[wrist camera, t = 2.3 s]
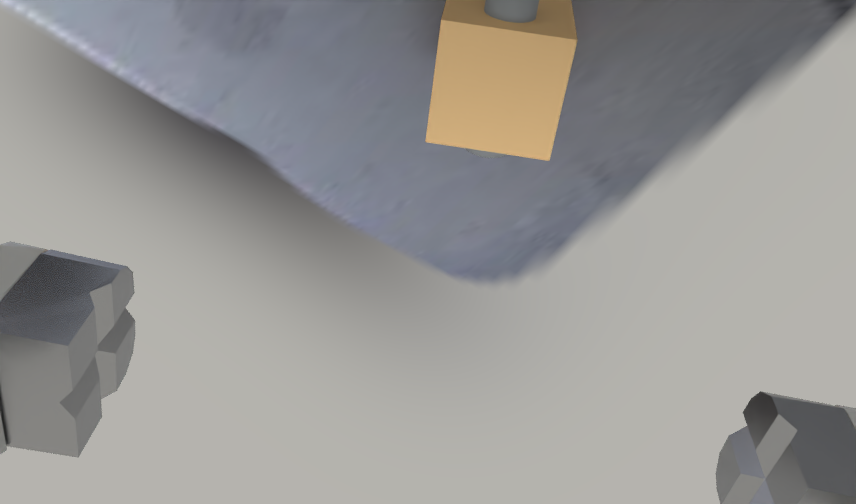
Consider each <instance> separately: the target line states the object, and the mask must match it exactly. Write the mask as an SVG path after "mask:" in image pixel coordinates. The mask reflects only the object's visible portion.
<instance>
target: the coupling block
mask: <svg viewBox="0 0 856 504" xmlns="http://www.w3.org/2000/svg"><path fill="white" fill-rule="evenodd" d="M576 44H577V34H576V28H575V21H574V15H573V8H572V2H571V0H446V3H445V7H444V11H443V15H442V18H441V25H440V33H439V40H438V48H437V56H436V64H435V71H434V79H433V87H432V95H431V103H430V110H429V118H428V126H427V134H426V142H428V143H435V144H442V145H448V146H455V147H461V148H465V149H466V150H467V151H468V152H470V153H472V154H474V155H477V156H480V157H485V158H500V157H503V156H505V155H507V154H508V155H514V156H521V157H527V158H534V159H541V160H547V161H549V160H550V156H551V151H552V147H553V143H554V139H555V134H556V130H557V126H558V121H559V117H560V113H561V109H562V104H563V100H564V96H565V91H566V87H567V83H568V79H569V74H570V70H571V66H572V61H573V57H574V53H575V49H576Z"/></svg>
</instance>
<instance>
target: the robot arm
mask: <svg viewBox="0 0 856 504" xmlns="http://www.w3.org/2000/svg"><path fill="white" fill-rule="evenodd" d="M133 294H134V282H133V272H132V271H131V270H130V269H129V268H128V267H127V266H123V265H118V264H114V263H109V262H105V261H100V260H95V259H91V258H86V257H82V256H77V255H73V254H68V253H63V252H59V251H55V250H46V249H43V248H38V247H33V246H29V245H24V244H20V243H15V242H7V243H4V244H1V245H0V454H1V453H3V452H5V451H6V449H7V447H6V446H10V447H16V448H22V449H28V450H35V451H41V452H47V453H53V454H60V455H66V456H72V457H79V456H80V454H81V452H82V450H83V449H84V447H85V445H86V443H87V442H88V440H89V438H90V437H91V435H92V433H93V431H94V430H95V428H96V426H97V424H98V423H99V421H100V419H101V418H102V411H101V410H102V409H101V399H102V398H104V397H106V396H108V395H110V394H112V393H113V392H115V391H117V389H118V387H119V386H120V384H121V382H122V380H123V378H124V376H125V375H126V372H127V369H128V366H129V363H130V360H131V356H132V354H133V347H134V340H135V320H134V318H133V317H132V316H131V315H130V313H129V312H128V311H127V309H126V308H125V307H126V305H127V304H128V302H129V300H130V299H131V297H132V296H133ZM743 414H744V417H745V420H746V423H747V426H746V427H744V428H742V429H741V430H739V431H737V432H735V433H733V434H731V435H729V437H728V438H727V440H726V442H725V444H724V446H723V448H722V450H721V452H720V454H719V459H718V464H717V470H716V483H717V484H716V485H717V492H718V496H719V500H720V504H856V408H850V407H845V406H840V405H835V406H833V405H829V404H824V403H819V402H813V401H808V400H803V399H797V398H792V397H787V396H781V395H777V394H771V393H766V392H759V393H758V394H756V395H755V396H754V397H753V398H751V400H750V401H749V403H748V405H747V406H746V408H745V409H744V411H743Z"/></svg>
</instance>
